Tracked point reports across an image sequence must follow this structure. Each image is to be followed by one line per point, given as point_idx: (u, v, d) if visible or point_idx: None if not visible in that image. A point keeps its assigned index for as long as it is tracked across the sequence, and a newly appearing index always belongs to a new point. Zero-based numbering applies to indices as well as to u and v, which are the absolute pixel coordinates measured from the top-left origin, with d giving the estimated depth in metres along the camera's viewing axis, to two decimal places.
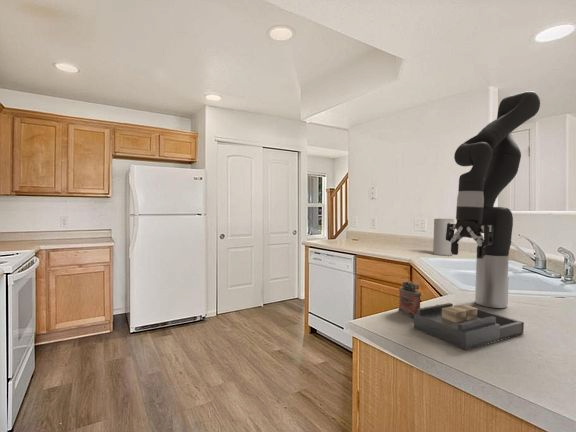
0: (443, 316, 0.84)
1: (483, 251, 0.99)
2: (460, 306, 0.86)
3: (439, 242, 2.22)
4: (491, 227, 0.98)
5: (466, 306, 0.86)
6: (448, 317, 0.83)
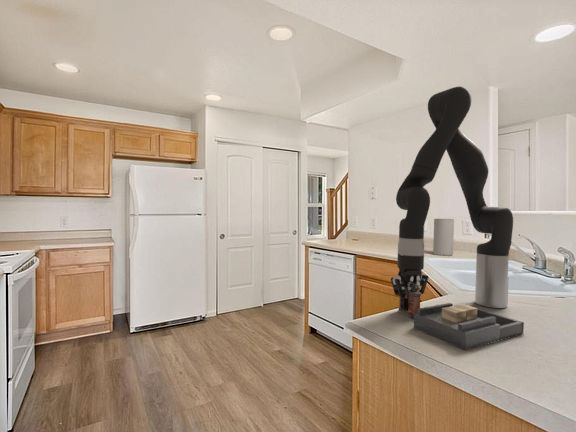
0: (443, 316, 0.84)
1: None
2: (460, 306, 0.86)
3: (439, 242, 2.22)
4: None
5: (466, 306, 0.86)
6: (448, 317, 0.83)
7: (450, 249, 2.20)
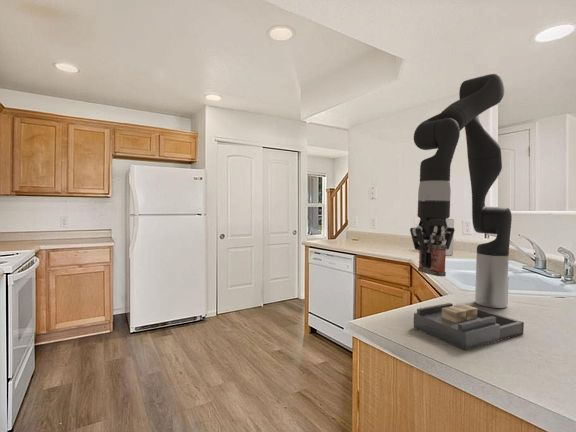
0: (443, 316, 0.84)
1: None
2: (460, 306, 0.86)
3: None
4: None
5: (466, 306, 0.86)
6: (448, 317, 0.83)
7: (450, 249, 2.20)
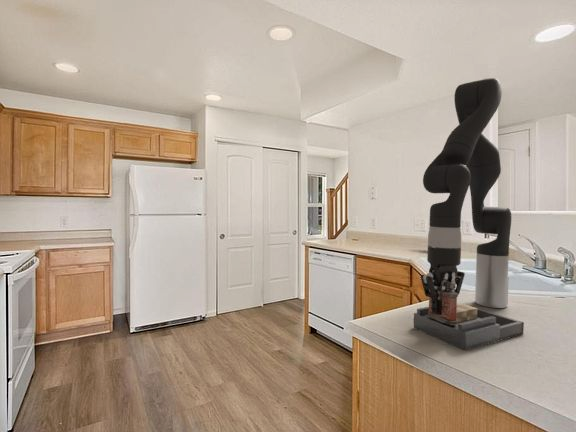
0: None
1: None
2: (460, 306, 0.86)
3: None
4: None
5: (466, 306, 0.86)
6: None
7: None
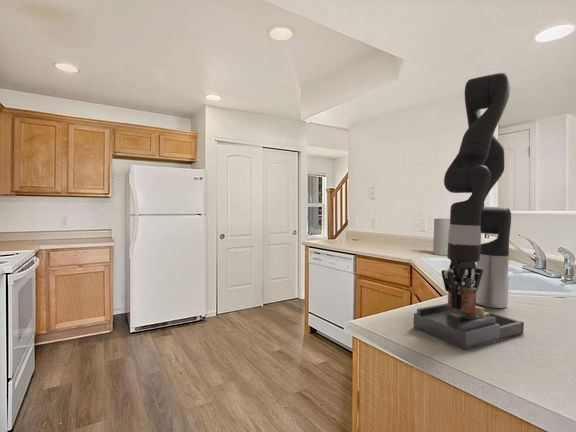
0: None
1: None
2: None
3: (439, 242, 2.22)
4: None
5: None
6: None
7: None
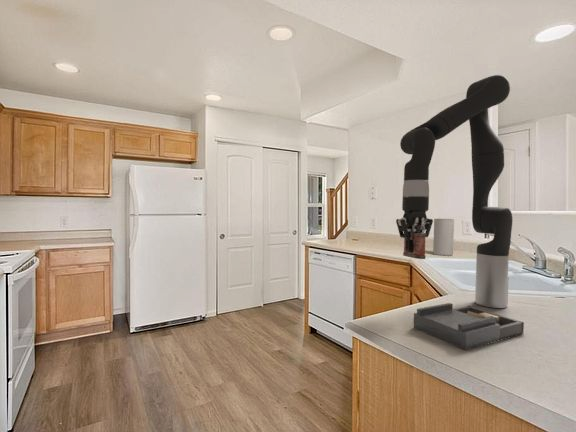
0: None
1: None
2: None
3: (439, 242, 2.22)
4: None
5: None
6: None
7: (450, 249, 2.20)
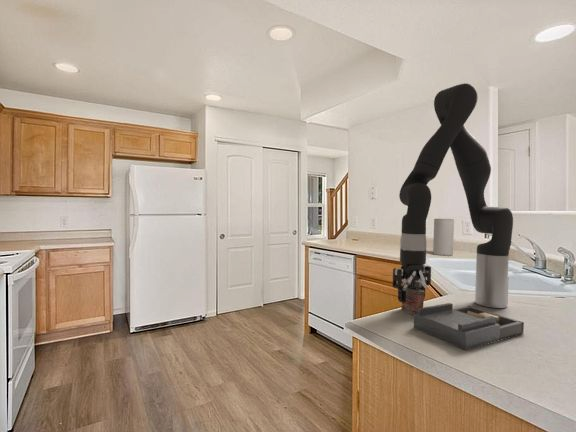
0: None
1: None
2: None
3: (439, 242, 2.22)
4: None
5: None
6: None
7: (450, 249, 2.20)
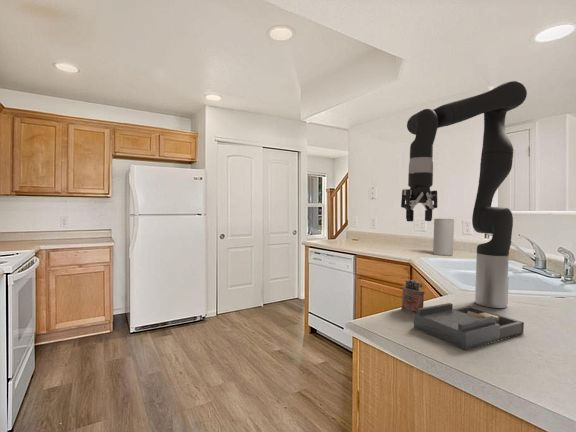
0: None
1: None
2: None
3: (439, 242, 2.22)
4: None
5: None
6: None
7: (450, 249, 2.20)
